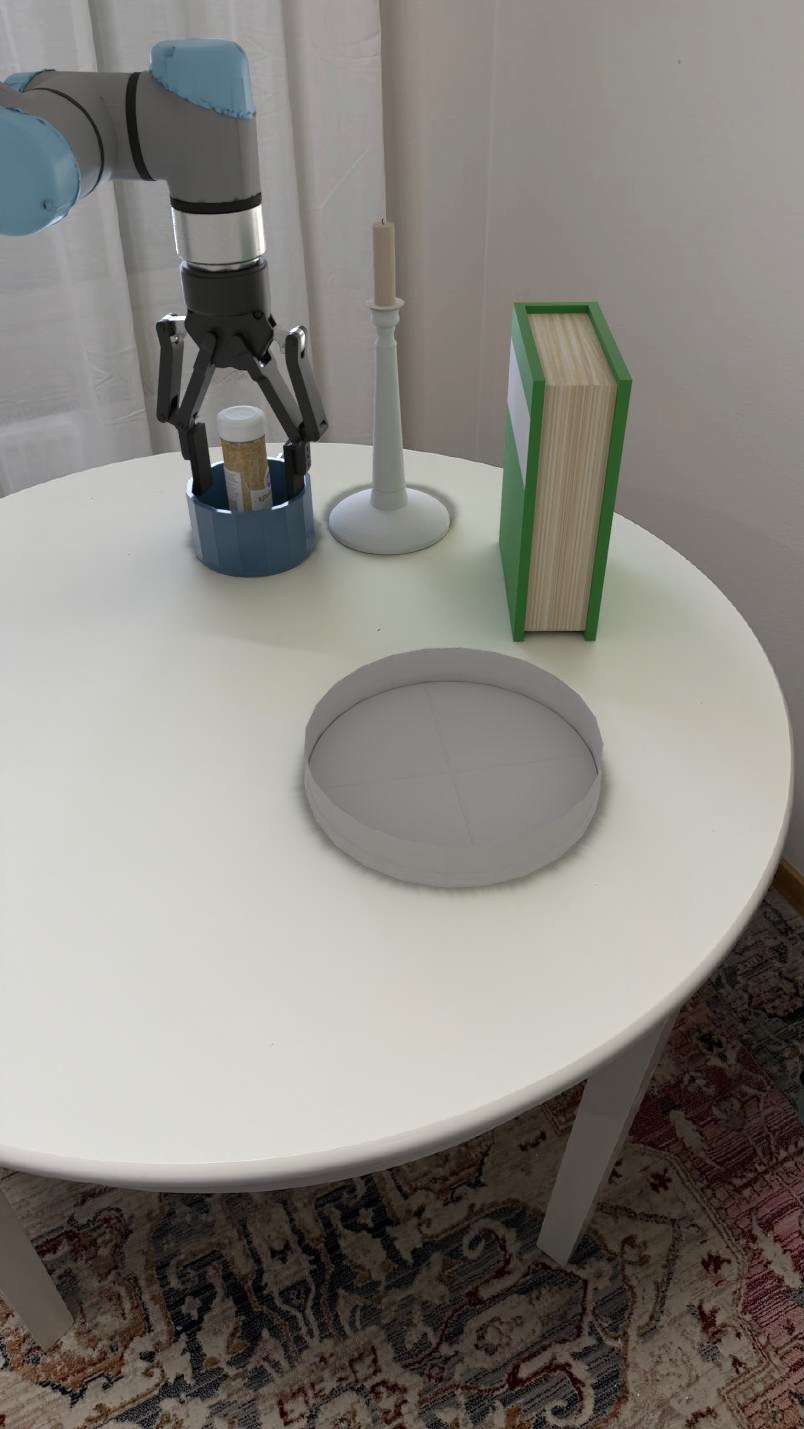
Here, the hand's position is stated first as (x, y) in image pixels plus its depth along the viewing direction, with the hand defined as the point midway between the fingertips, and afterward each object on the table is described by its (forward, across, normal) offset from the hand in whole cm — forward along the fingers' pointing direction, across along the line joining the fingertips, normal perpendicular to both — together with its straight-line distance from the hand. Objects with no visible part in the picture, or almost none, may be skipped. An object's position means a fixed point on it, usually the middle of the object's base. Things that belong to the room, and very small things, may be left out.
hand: (249, 495), depth 100 cm
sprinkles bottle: (+5, 0, 0) cm, 5 cm away
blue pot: (+6, 0, -2) cm, 6 cm away
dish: (+6, -28, +29) cm, 41 cm away
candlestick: (+6, -12, -8) cm, 16 cm away
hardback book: (+6, -30, 0) cm, 31 cm away
